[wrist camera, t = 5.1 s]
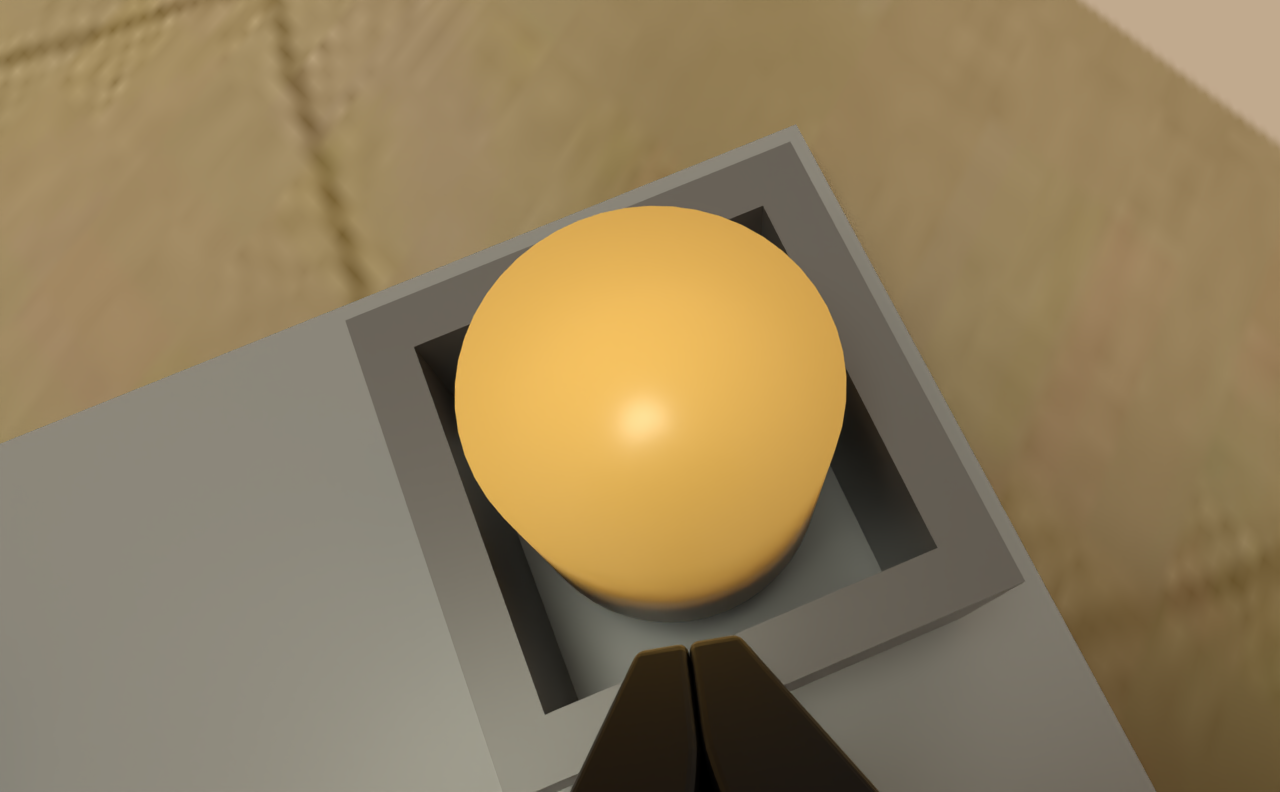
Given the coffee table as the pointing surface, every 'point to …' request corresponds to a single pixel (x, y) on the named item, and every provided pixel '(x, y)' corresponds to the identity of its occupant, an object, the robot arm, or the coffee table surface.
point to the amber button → (654, 407)
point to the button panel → (499, 567)
